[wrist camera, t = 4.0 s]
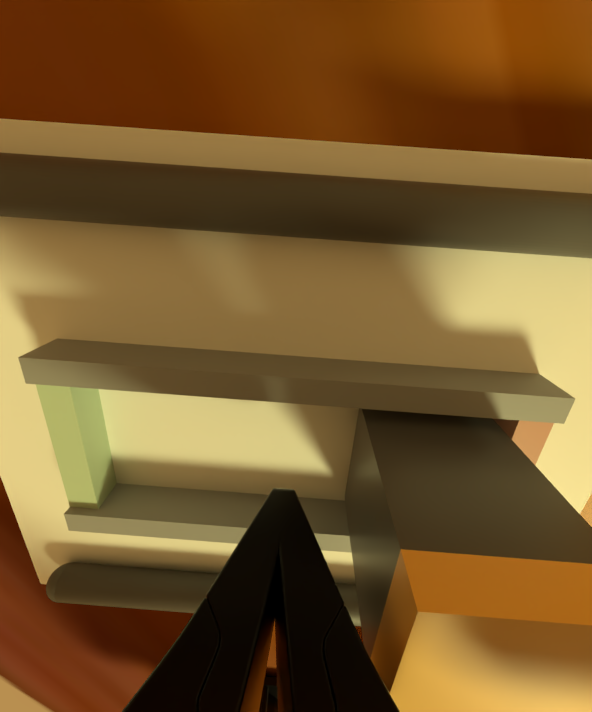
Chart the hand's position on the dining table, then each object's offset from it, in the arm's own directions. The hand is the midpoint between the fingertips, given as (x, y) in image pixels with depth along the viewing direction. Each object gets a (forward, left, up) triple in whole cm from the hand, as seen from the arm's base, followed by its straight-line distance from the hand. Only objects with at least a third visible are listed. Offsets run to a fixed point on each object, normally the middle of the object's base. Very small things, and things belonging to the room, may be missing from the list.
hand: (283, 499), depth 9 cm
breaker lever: (0, -4, -2) cm, 5 cm away
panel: (0, 0, -5) cm, 5 cm away
